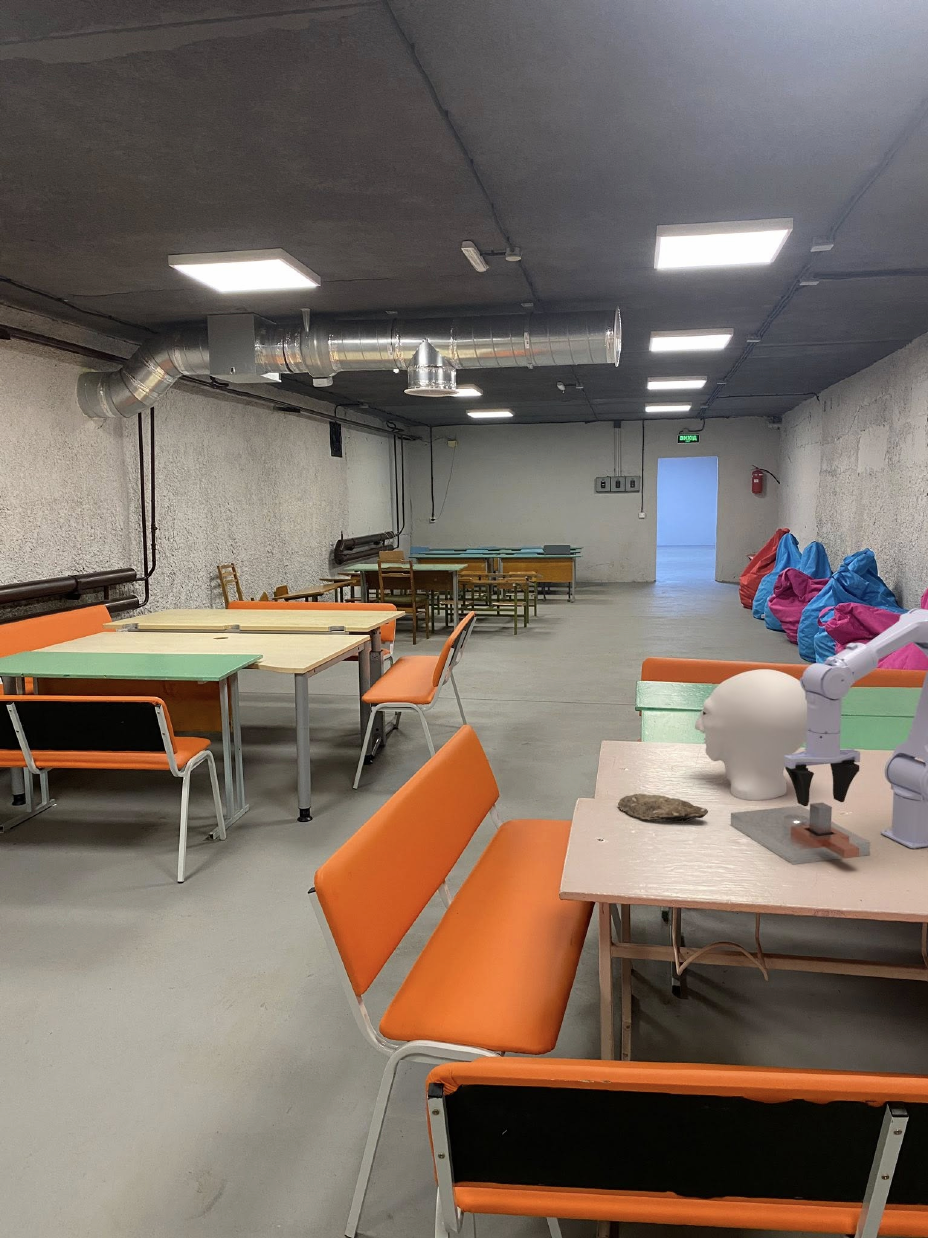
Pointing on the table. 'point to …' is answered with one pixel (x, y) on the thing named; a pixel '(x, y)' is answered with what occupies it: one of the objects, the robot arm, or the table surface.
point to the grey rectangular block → (820, 819)
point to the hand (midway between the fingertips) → (820, 802)
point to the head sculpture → (755, 730)
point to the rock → (660, 808)
